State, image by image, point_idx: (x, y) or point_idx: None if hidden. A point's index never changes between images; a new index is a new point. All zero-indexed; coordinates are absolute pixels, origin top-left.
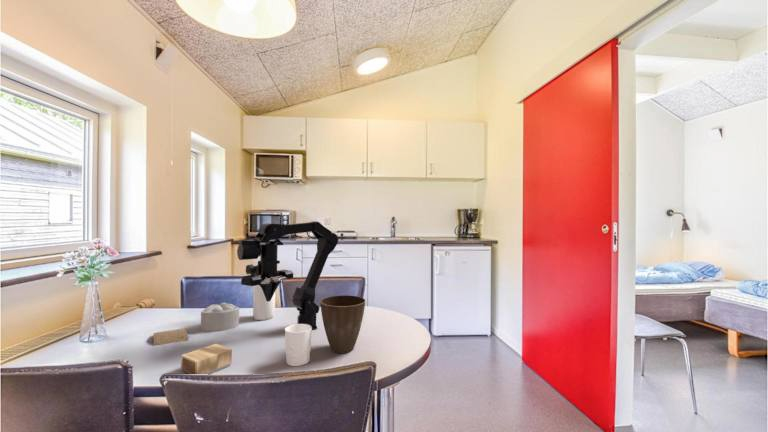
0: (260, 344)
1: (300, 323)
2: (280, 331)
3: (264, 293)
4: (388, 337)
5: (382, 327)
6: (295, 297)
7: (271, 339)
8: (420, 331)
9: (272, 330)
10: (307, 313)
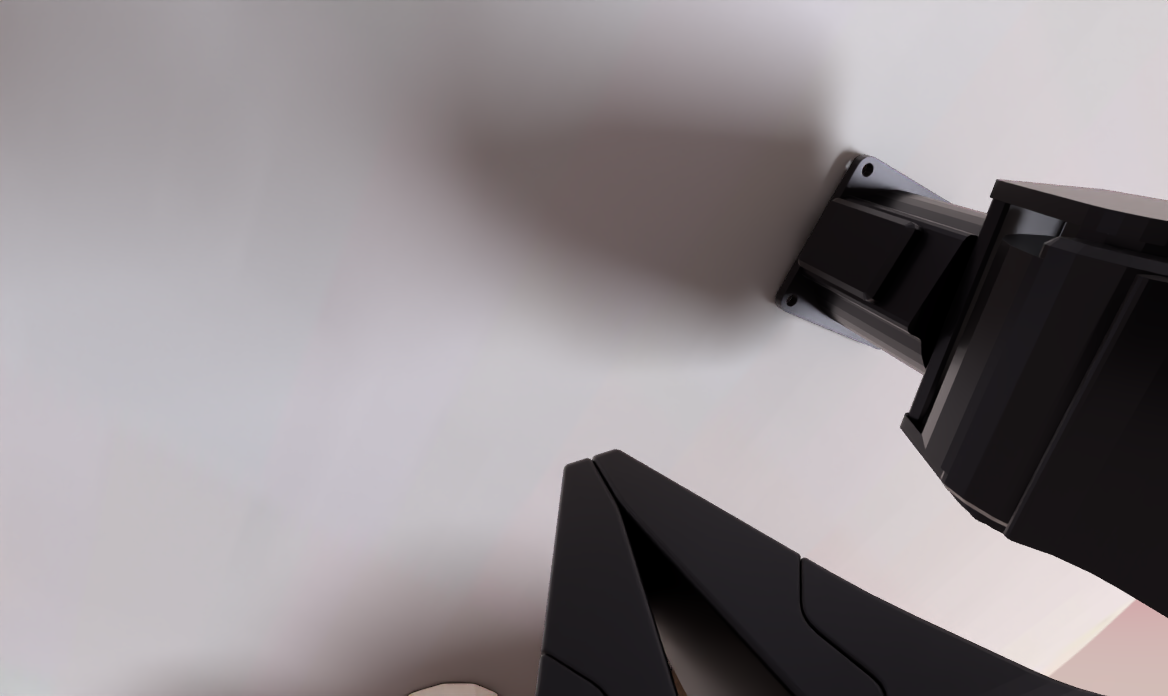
0: (344, 370)
1: (831, 290)
2: (659, 168)
3: (549, 653)
4: None
5: None
6: (1091, 398)
7: (481, 318)
8: (1058, 664)
9: (621, 65)
10: (910, 437)
